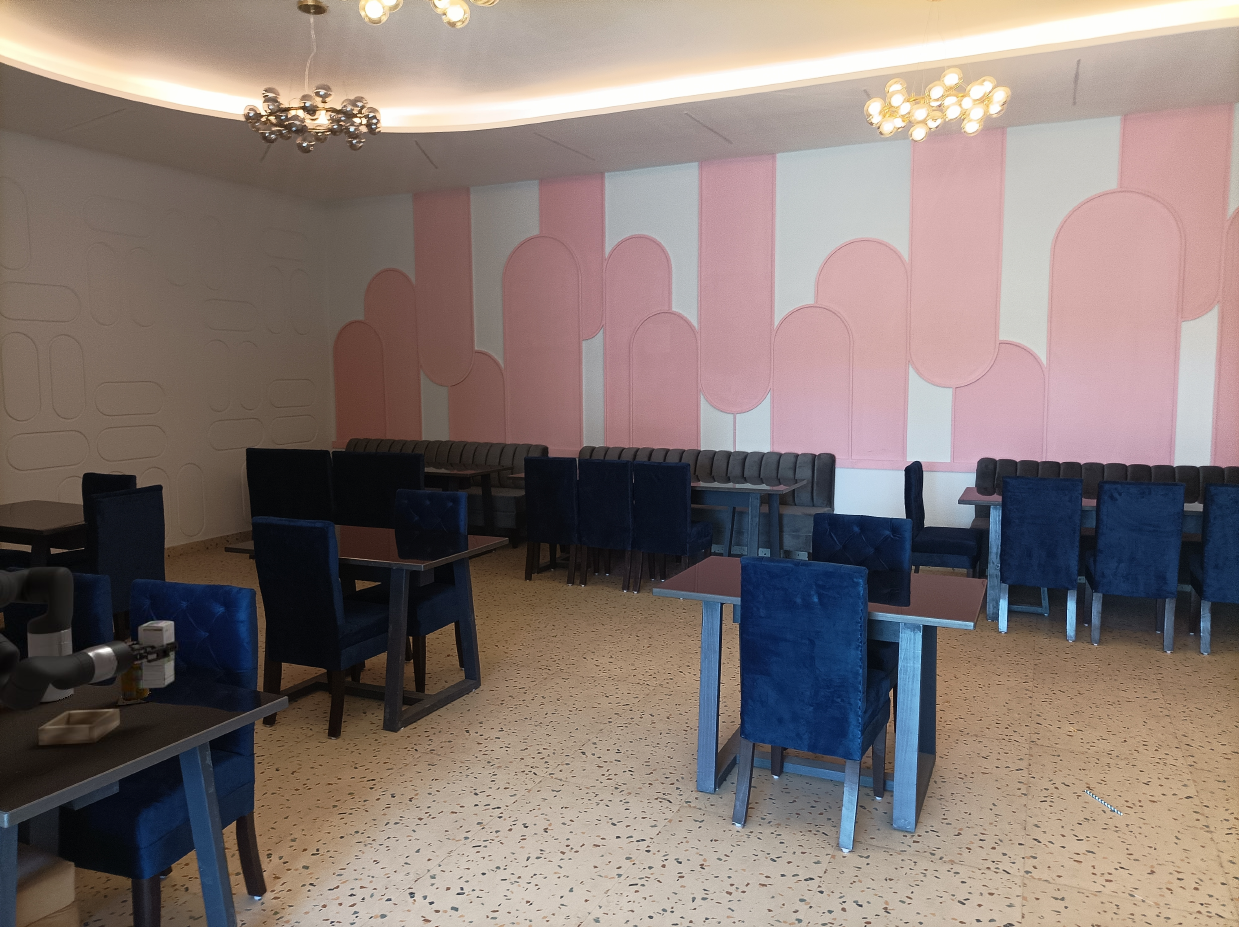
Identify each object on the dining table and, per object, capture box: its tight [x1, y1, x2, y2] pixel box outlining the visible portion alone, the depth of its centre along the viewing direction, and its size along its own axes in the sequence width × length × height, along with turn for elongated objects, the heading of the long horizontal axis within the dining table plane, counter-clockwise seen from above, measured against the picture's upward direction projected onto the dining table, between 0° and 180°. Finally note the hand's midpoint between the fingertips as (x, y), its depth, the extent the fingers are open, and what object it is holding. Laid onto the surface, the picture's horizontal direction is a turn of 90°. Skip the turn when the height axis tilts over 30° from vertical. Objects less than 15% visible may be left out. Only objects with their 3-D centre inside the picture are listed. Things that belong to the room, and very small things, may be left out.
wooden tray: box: [37, 708, 121, 746], centre depth 189 cm, size 11×11×4 cm
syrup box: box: [137, 620, 175, 689], centre depth 197 cm, size 6×6×14 cm
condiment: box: [120, 663, 150, 701], centre depth 212 cm, size 7×8×12 cm
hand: (163, 644), depth 199 cm, fingers closed on syrup box, 7 cm apart
